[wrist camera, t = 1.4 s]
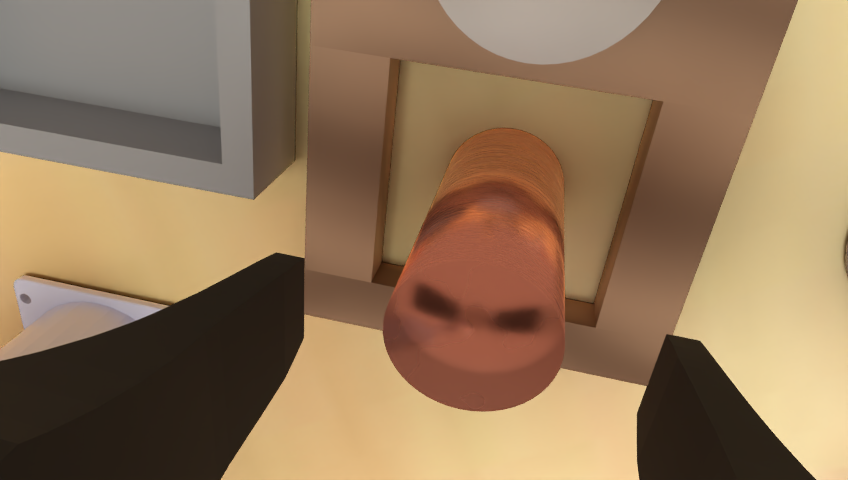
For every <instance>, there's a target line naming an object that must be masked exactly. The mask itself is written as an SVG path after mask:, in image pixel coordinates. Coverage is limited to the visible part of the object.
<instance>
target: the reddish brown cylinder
mask: <svg viewBox="0 0 848 480" xmlns="http://www.w3.org/2000/svg"><path fill="white" fill-rule="evenodd" d="M383 337H384V343H385V346H386V350H387V352H388V355H389V357H390V359H391V361H392V363H393V364H394V366H395V368H396V369H397V370H398V372H399V373H400V374H401V375H402V377H403V378H404V379H405V380H406V381H407V382H408V383H409V384H410V385H412V386H413V387H414V388H415V389H417V390H418V391H419V392H421V393H423V394H424V395H426V396H427V397H429V398H431V399H433V400H435V401H437V402H439V403H442V404H445V405H447V406H451V407H454V408H458V409H463V410H469V411H496V410H503V409H507V408H511V407H515V406H517V405H520V404H523V403H525V402H527V401H529V400H531V399H533V398H534V397H535V396H537V395H538V394H540V393H541V392H542V391H543V390H544V389H545V388H546V387H548V386H549V384H550V383H551V382H552V381H553V379H554V378H555V376H556V375H557V373H558V371H559V369H560V367H561V364H562V361H563V357H564V351H565V279H564V178H563V172H562V168H561V165H560V163H559V161H558V159H557V157H556V155H555V154H554V152H553V151H552V150H551V149H550V148H549V147H548V146H547V145H546V144H545V143H544V142H543V141H542V140H540V139H539V138H537V137H536V136H534V135H532V134H530V133H527V132H525V131H522V130H517V129H511V128H496V129H490V130H487V131H483V132H481V133H478V134H476V135H474V136H473V137H471V138H469V139H468V140H467V141H466V142H464V143H463V144H462V145H461V146H460V147H459V148H458V150H457V151H456V152H455V154H454V155H453V157H452V159H451V161H450V163H449V166H448V168H447V170H446V173H445V175H444V177H443V179H442V182H441V184H440V186H439V189H438V191H437V193H436V195H435V198H434V200H433V202H432V205H431V207H430V209H429V211H428V214H427V216H426V218H425V221H424V223H423V225H422V227H421V230H420V232H419V234H418V237H417V239H416V241H415V243H414V246H413V248H412V250H411V253H410V255H409V257H408V259H407V262H406V264H405V266H404V269H403V271H402V273H401V275H400V278H399V280H398V282H397V285H396V287H395V289H394V291H393V294H392V296H391V298H390V301H389V303H388V305H387V308H386V311H385V315H384V320H383Z"/></svg>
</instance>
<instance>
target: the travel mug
mask: <svg viewBox="0 0 848 480" xmlns="http://www.w3.org/2000/svg"><path fill="white" fill-rule="evenodd" d="M845 265H846V270H847V275H848V243H847V246H846V258H845Z"/></svg>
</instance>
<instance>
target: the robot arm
mask: <svg viewBox="0 0 848 480" xmlns="http://www.w3.org/2000/svg"><path fill="white" fill-rule="evenodd" d="M304 267H305V258H300V257H295V256H291V255H286V254H281V253H275V254H272V255H270V256H268V257H266V258H264V259H262V260H260V261H258V262H256V263H254V264H252V265H250V266H249V267H247V268H245V269H243V270H241V271H239V272H237V273H235V274H233V275H232V276H230V277H228V278H226V279H224V280H222V281H220V282H218V283H216V284H214V285H212V286H210V287H208V288H206V289H204V290H203V291H201V292H199V293H197V294H194V295H192V296H190V297H188V298H186V299H184V300H181V301H179V302H177V303H175V304H173V305H171V306H168V305H163V304H158V303H154V302H149V301H144V300H140V299H135V298H130V297H125V296H121V295H116V294H111V293H107V292H102V291H97V290H93V289H88V288H83V287H79V286H74V285H69V284H65V283H60V282H55V281H51V280H46V279H41V278H37V277H32V276H27V275H23V276H21V277H19V278H18V279H16V280H15V281H14V290H15V294H16V298H17V302H18V306H19V310H20V315H21V319H22V323H23V327H24V330H23V331H22V332H21V333H19V334H18V335H17V336H16V337H14V338H13V339H12V340H11V341H9V342H8V343H7V344H5V345H4V346H3V347H2V348H0V480H221V478H222V476H223V474H224V473H225V471H226V469H227V468H228V466H229V464H230V463H231V461H232V460H233V458H234V457H235V455H236V453H237V452H238V450H239V449H240V447H241V446H242V444H243V443H244V441H245V440H246V438H247V437H248V435H249V433H250V432H251V430H252V429H253V427H254V426H255V424H256V423H257V421H258V420H259V418H260V417H261V415H262V414H263V412H264V410H265V409H266V407H267V406H268V404H269V403H270V401H271V400H272V398H273V396H274V395H275V393H276V392H277V390H278V389H279V387H280V385H281V384H282V382H283V381H284V379H285V377H286V375H287V373H288V371H289V369H290V367H291V365H292V363H293V361H294V358H295V356H296V354H297V352H298V349H299V347H300V345H301V343H302V341H303V338H304ZM637 464H638V472H639V480H816V479H815V478H814V477H813V476H812V475H811V474H810V473H809V472H808V471H807V470H806V469H805V468H804V467H803V465H802V464H801V463H800V462H799V461H798V460H797V459H796V458H795V457H794V456H793V454H792V453H791V452H790V451H789V450H788V449H787V448H786V447H785V446H784V445H783V444H782V442H781V441H780V440H779V439H778V438H777V437H776V436H775V434H774V433H773V432H772V431H771V430H770V429H769V427H768V426H767V425H766V424H765V423H764V421H763V420H762V419H761V418H760V417H759V415H758V414H757V413H756V412H755V411H754V409H753V408H752V407H751V406H750V404H749V403H748V402H747V401H746V399H745V398H744V397H743V396H742V394H741V393H740V392H739V390H738V389H737V388H736V387H735V385H734V384H733V383H732V381H731V380H730V379H729V378H728V376H727V375H726V374H725V372H724V371H723V370H722V368H721V367H720V366H719V364H718V363H717V362H716V361H715V359H714V358H713V357H712V355H711V354H710V353H709V351H708V350H707V349H706V348H705V346H704V345H703V344H702V343H701V342H700V341H698V340H693V339H688V338H683V337H679V336H674V335H669V334H666V337H665V339H664V342H663V345H662V347H661V350H660V353H659V355H658V358H657V361H656V364H655V366H654V369H653V372H652V374H651V377H650V380H649V383H648V385H647V388H646V391H645V393H644V396H643V399H642V401H641V404H640V407H639V410H638V412H637Z"/></svg>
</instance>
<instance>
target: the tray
mask: <svg viewBox="0 0 848 480" xmlns="http://www.w3.org/2000/svg"><path fill="white" fill-rule="evenodd" d="M296 40H297V0H0V152H6V153H11V154H16V155H21V156H27V157H32V158H37V159H42V160H48V161H53V162H58V163H63V164H69V165H74V166H79V167H85V168H90V169H95V170H100V171H106V172H111V173H116V174H121V175H127V176H132V177H137V178H142V179H148V180H153V181H158V182H163V183H169V184H174V185H179V186H184V187H190V188H195V189H200V190H205V191H211V192H216V193H221V194H226V195H232V196H237V197H242V198H248V199H253V200H254V199H255V198H256V197H257V196H258V195H259V194H260V193H261V192H262V191H263V190H264V189H265V188H267V187H268V186H269V185H270V184H271V183H272V182H273V181H274V180H275V179H276V178H277V177H278V176H279V175H280V174H281V173H282V172H283V171H284V170H285V169H286V168H288V167H289V166H290V165H291V164H292V163H293V162H294V161H295V112H296Z"/></svg>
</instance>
